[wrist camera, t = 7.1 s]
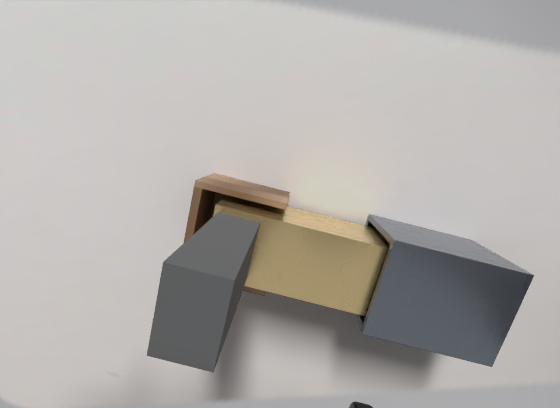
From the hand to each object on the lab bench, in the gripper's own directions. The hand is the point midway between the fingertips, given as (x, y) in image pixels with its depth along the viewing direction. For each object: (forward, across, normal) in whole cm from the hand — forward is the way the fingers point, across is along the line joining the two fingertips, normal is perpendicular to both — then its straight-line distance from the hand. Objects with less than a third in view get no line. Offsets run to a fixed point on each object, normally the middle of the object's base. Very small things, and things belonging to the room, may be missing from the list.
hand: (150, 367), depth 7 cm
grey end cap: (+12, -10, 0) cm, 16 cm away
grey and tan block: (+12, -4, 0) cm, 12 cm away
